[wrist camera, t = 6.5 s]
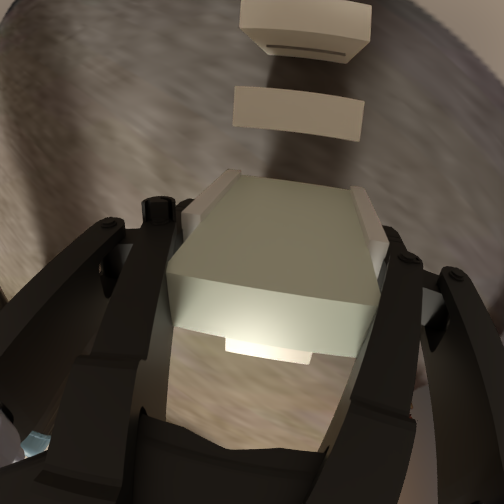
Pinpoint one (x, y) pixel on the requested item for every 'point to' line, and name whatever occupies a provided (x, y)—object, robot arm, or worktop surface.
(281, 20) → the domino
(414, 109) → the worktop surface
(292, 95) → the domino
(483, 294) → the worktop surface
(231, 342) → the domino
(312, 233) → the domino
